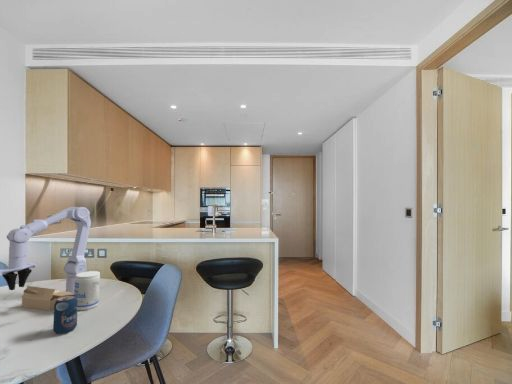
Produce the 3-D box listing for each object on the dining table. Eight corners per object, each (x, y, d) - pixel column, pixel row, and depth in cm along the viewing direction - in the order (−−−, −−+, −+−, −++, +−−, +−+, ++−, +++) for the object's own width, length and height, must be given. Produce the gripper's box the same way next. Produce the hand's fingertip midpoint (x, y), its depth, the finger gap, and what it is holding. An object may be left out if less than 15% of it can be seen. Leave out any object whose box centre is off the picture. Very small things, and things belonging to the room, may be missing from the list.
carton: (45, 298, 123) (45, 288, 123) (71, 301, 119) (72, 292, 120) (21, 306, 114) (22, 296, 114) (49, 310, 110) (50, 300, 110)
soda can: (64, 336, 89) (65, 301, 90) (47, 334, 90) (49, 300, 91) (81, 327, 96) (82, 294, 96) (65, 325, 97) (66, 293, 98)
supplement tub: (68, 311, 109) (69, 276, 110) (82, 302, 119) (83, 270, 119) (91, 311, 110) (92, 276, 110) (103, 302, 119) (104, 270, 120)
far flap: (49, 301, 110) (40, 299, 106) (22, 297, 114) (11, 295, 110) (55, 289, 112) (46, 287, 108) (28, 286, 116) (18, 284, 112)
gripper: (29, 252, 119) (28, 282, 118) (-10, 259, 105) (-11, 293, 104) (41, 253, 117) (39, 283, 117) (3, 260, 103) (1, 294, 103)
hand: (16, 288), depth 110 cm, fingers open, 3 cm apart
